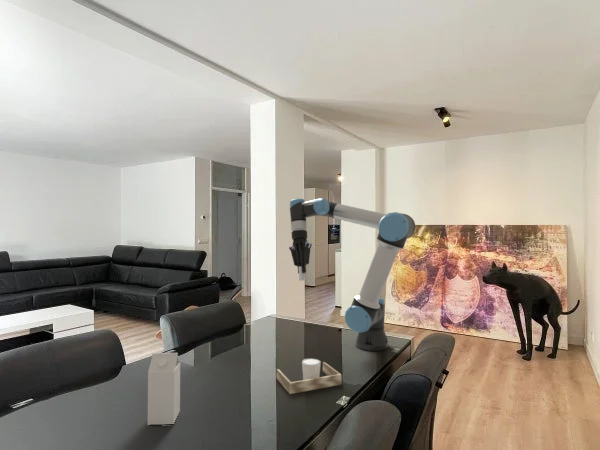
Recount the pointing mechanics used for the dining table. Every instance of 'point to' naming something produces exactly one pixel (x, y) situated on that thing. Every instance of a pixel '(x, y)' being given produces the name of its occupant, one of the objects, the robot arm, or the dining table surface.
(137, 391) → the dining table surface
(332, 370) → the bay
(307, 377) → the white cup
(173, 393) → the milk carton
